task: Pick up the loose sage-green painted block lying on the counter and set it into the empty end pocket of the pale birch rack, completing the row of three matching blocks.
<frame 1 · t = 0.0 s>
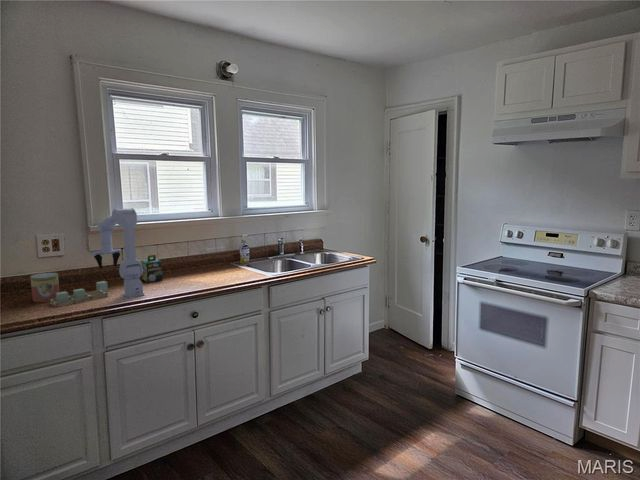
hand: (108, 267, 228), 10 cm above the worktop, fingers open, 7 cm apart
seated block A: (79, 299, 200), resting on rack
loose block: (102, 291, 216), on the worktop
canned food: (46, 299, 201), on the worktop
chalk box: (152, 280, 242), on the worktop
seated block B: (62, 303, 194), resting on rack
rack: (79, 300, 200), on the worktop
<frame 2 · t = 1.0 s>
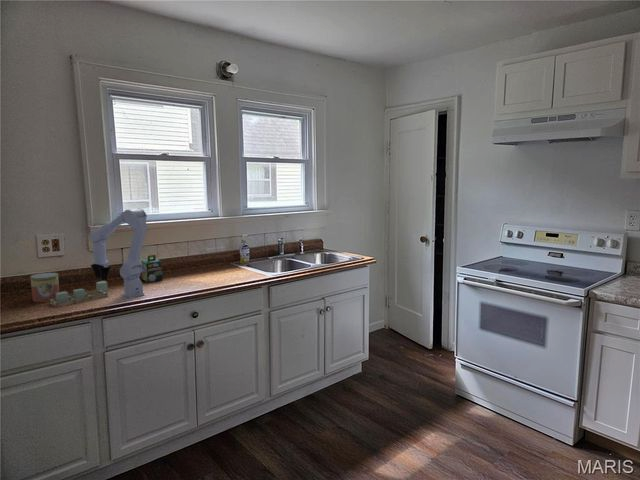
hand: (101, 278, 215), 7 cm above the worktop, fingers open, 7 cm apart
nothing on the worktop moved.
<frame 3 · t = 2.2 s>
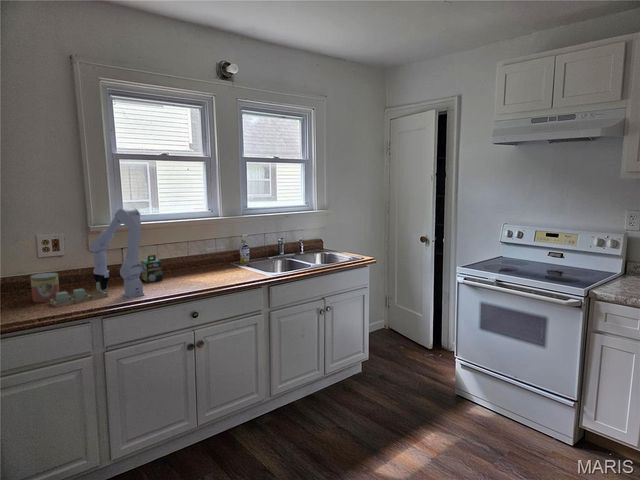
hand: (102, 288, 216), 1 cm above the worktop, fingers closed on loose block, 4 cm apart
loose block: (102, 291, 216), on the worktop, touching gripper
everything else where it was.
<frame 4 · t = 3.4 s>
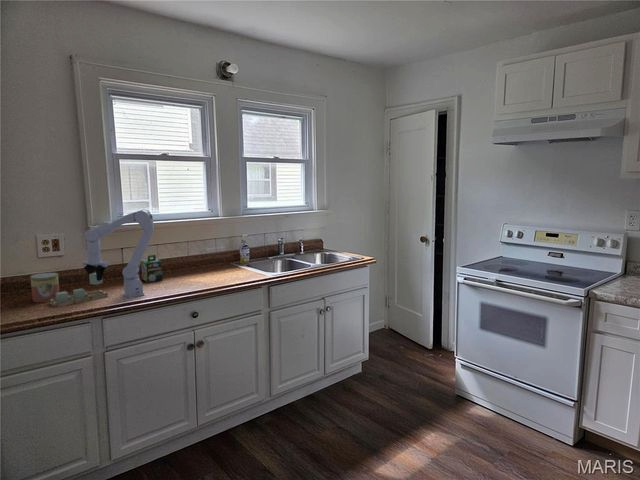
hand: (96, 279, 206), 8 cm above the worktop, fingers closed on loose block, 4 cm apart
loose block: (96, 283, 207), point 7 cm above the worktop, touching gripper
everything else where it was.
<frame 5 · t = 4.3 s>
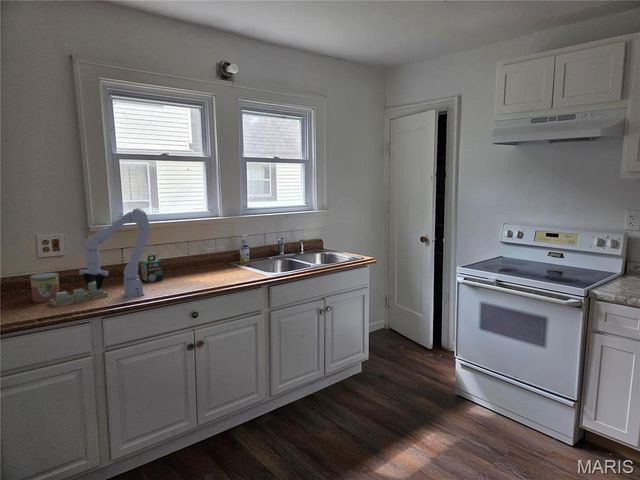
hand: (95, 288, 205), 4 cm above the worktop, fingers closed on loose block, 4 cm apart
loose block: (95, 292, 205), point 3 cm above the worktop, touching gripper
everything else where it was.
when the fingers open (3 cm above the worktop, at t = 5.0 s): loose block stays where it is, resting on rack.
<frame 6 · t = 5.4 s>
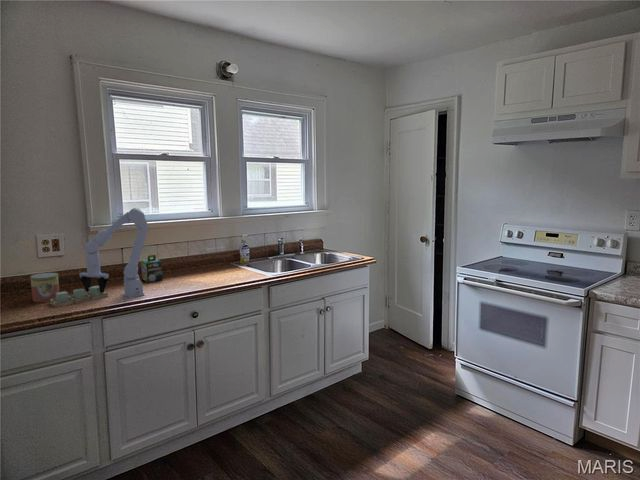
hand: (95, 291, 205), 3 cm above the worktop, fingers open, 7 cm apart
loose block: (95, 296, 205), resting on rack
everything else where it was.
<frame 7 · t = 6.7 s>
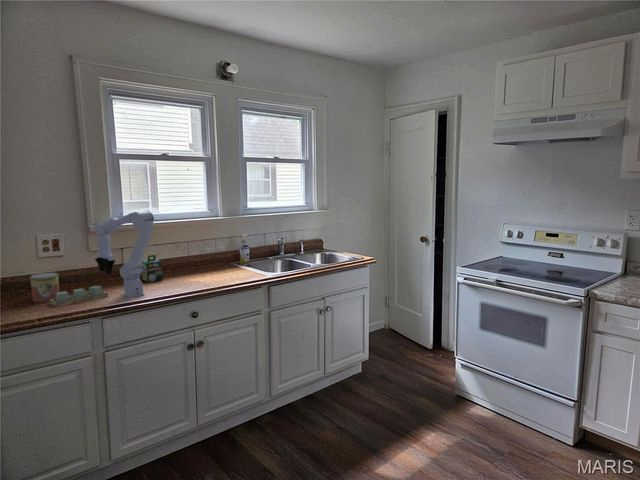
hand: (105, 272, 214), 10 cm above the worktop, fingers open, 7 cm apart
nothing on the worktop moved.
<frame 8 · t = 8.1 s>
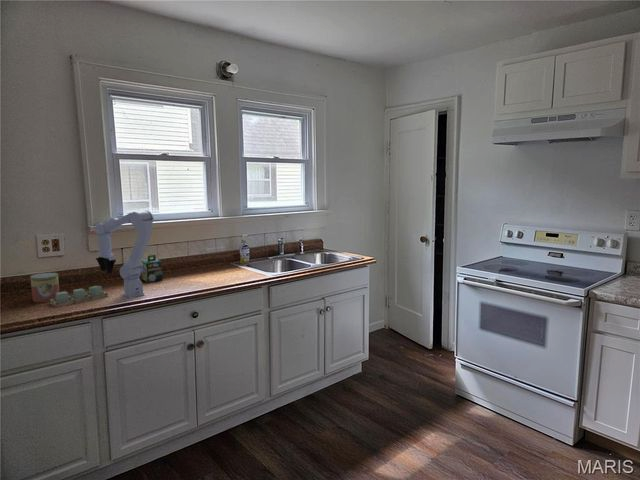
hand: (106, 271, 215), 10 cm above the worktop, fingers open, 7 cm apart
nothing on the worktop moved.
at the end: loose block 0.1 cm from the target spot on the rack, point 0.3 cm above the rack's base; loose block tilted 0°; the gripper is holding nothing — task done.
